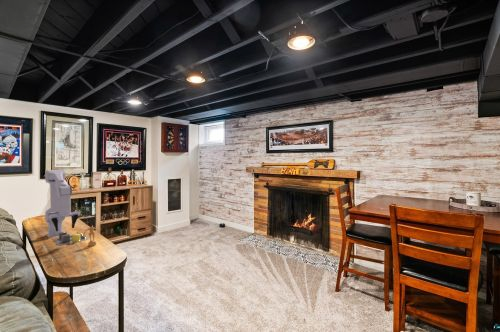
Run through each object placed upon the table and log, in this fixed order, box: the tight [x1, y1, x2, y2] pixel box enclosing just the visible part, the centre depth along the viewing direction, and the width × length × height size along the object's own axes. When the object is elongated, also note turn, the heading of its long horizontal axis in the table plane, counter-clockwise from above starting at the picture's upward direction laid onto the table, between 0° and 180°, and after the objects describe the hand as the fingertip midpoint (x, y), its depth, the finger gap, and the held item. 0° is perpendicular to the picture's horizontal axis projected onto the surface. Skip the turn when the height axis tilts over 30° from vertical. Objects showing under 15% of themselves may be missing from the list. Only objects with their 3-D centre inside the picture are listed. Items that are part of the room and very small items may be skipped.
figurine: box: [83, 226, 101, 247], centre depth 141 cm, size 8×6×12 cm
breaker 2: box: [61, 233, 70, 242], centre depth 146 cm, size 3×4×4 cm
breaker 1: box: [58, 231, 68, 239], centre depth 151 cm, size 3×4×4 cm
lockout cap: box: [71, 233, 81, 243], centre depth 147 cm, size 4×4×4 cm
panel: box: [52, 231, 90, 247], centre depth 150 cm, size 18×15×3 cm
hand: (65, 229), depth 142 cm, fingers open, 7 cm apart
